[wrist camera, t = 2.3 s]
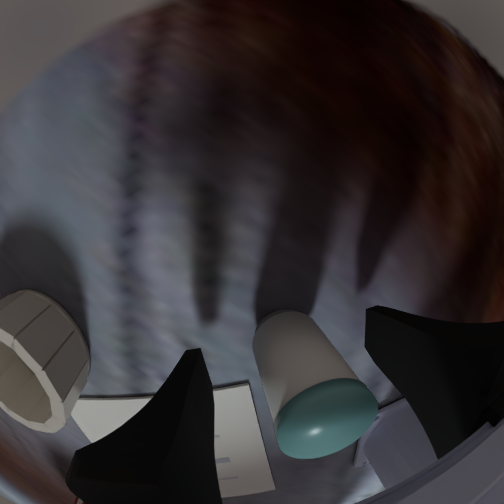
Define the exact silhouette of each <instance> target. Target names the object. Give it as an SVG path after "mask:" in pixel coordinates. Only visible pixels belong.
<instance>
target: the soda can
mask: <svg viewBox="0 0 504 504" xmlns="http://www.w3.org/2000/svg"><path fill="white" fill-rule="evenodd" d="M75 504H86V503H84V502H83V501H82V500H81V499H79V498H78V497H76V500H75Z"/></svg>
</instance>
